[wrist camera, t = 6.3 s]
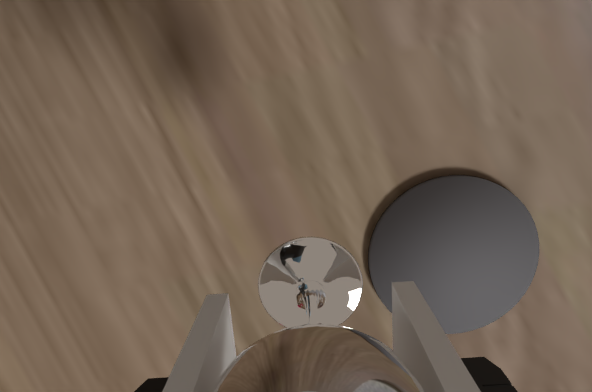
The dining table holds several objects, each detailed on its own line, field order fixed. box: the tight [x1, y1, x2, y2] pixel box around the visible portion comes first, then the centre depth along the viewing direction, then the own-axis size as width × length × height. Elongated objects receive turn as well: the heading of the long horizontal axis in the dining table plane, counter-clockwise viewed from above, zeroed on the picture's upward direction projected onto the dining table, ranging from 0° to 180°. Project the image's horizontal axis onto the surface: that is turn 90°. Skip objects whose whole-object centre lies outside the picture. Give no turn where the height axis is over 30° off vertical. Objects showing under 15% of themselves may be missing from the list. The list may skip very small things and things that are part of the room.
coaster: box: [368, 175, 539, 334], centre depth 29 cm, size 12×12×1 cm
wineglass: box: [211, 236, 428, 392], centre depth 11 cm, size 6×6×12 cm
